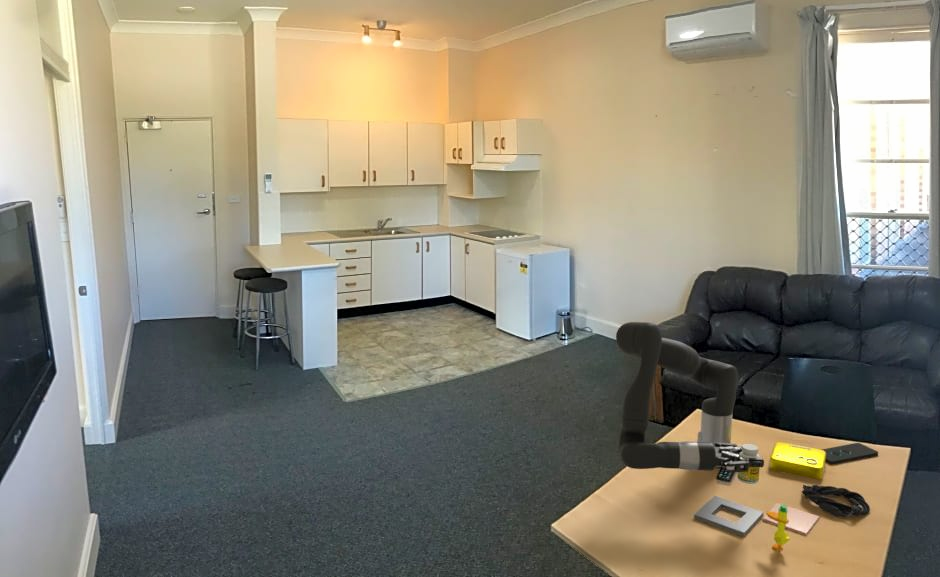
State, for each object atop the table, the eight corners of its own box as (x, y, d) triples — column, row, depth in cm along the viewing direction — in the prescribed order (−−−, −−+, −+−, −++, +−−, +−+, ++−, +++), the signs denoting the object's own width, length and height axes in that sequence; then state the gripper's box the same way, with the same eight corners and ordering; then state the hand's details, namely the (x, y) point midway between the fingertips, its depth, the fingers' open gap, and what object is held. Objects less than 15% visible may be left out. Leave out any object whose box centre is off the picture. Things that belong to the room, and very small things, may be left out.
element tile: (825, 462, 215) (826, 448, 214) (822, 482, 202) (823, 467, 201) (774, 452, 223) (775, 439, 222) (768, 470, 210) (769, 456, 209)
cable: (790, 497, 193) (791, 483, 192) (819, 485, 200) (820, 471, 199) (848, 525, 179) (850, 510, 178) (878, 510, 186) (879, 496, 185)
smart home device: (811, 450, 220) (858, 441, 226) (810, 455, 220) (857, 446, 226) (831, 461, 212) (879, 451, 218) (831, 466, 212) (879, 456, 219)
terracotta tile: (762, 520, 181) (762, 518, 181) (777, 504, 189) (777, 502, 189) (806, 535, 174) (806, 533, 174) (819, 518, 182) (819, 516, 181)
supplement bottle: (745, 473, 184) (747, 440, 182) (762, 481, 180) (765, 447, 178) (732, 478, 181) (735, 445, 179) (750, 486, 177) (753, 453, 175)
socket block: (693, 518, 183) (694, 514, 182) (714, 499, 192) (714, 495, 192) (743, 536, 173) (744, 532, 173) (763, 516, 183) (763, 512, 183)
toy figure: (760, 544, 170) (763, 501, 168) (767, 539, 172) (771, 496, 170) (786, 556, 165) (790, 512, 162) (793, 551, 167) (797, 507, 164)
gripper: (702, 454, 173) (770, 456, 171) (689, 431, 187) (752, 433, 185) (700, 481, 174) (767, 483, 173) (688, 456, 188) (750, 458, 187)
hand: (759, 457), depth 179 cm, fingers closed on supplement bottle, 5 cm apart
